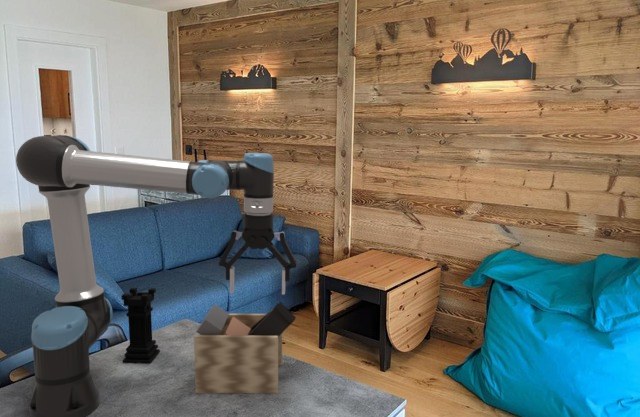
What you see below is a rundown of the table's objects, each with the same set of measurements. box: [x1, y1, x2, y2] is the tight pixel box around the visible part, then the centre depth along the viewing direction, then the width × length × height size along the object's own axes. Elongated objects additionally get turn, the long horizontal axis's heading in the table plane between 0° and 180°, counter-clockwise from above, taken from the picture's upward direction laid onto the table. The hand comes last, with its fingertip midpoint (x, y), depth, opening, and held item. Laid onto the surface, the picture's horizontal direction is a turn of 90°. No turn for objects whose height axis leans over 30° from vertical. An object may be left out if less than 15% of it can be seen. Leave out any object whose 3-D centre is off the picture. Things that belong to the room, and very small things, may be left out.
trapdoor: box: [196, 303, 251, 335], centre depth 139 cm, size 18×12×4 cm
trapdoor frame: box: [193, 313, 283, 394], centre depth 140 cm, size 21×17×15 cm
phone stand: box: [248, 301, 297, 337], centre depth 139 cm, size 9×6×12 cm
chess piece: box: [120, 287, 161, 365], centre depth 151 cm, size 8×8×20 cm
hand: (257, 292), depth 137 cm, fingers open, 13 cm apart
